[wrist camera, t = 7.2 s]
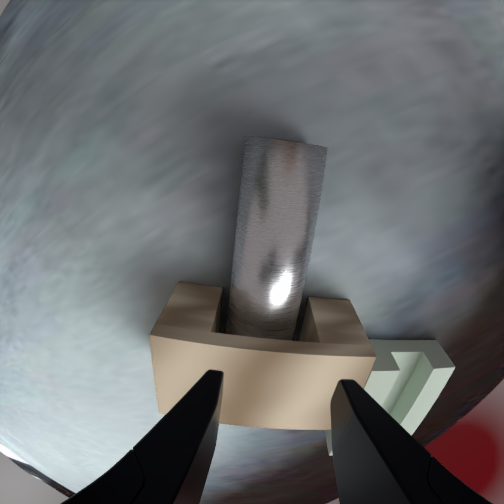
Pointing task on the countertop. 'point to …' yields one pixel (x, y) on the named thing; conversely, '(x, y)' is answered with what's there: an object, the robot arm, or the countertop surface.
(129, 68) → the countertop surface
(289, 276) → the axle
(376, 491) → the robot arm
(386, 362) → the v block
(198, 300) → the wooden bridge block
